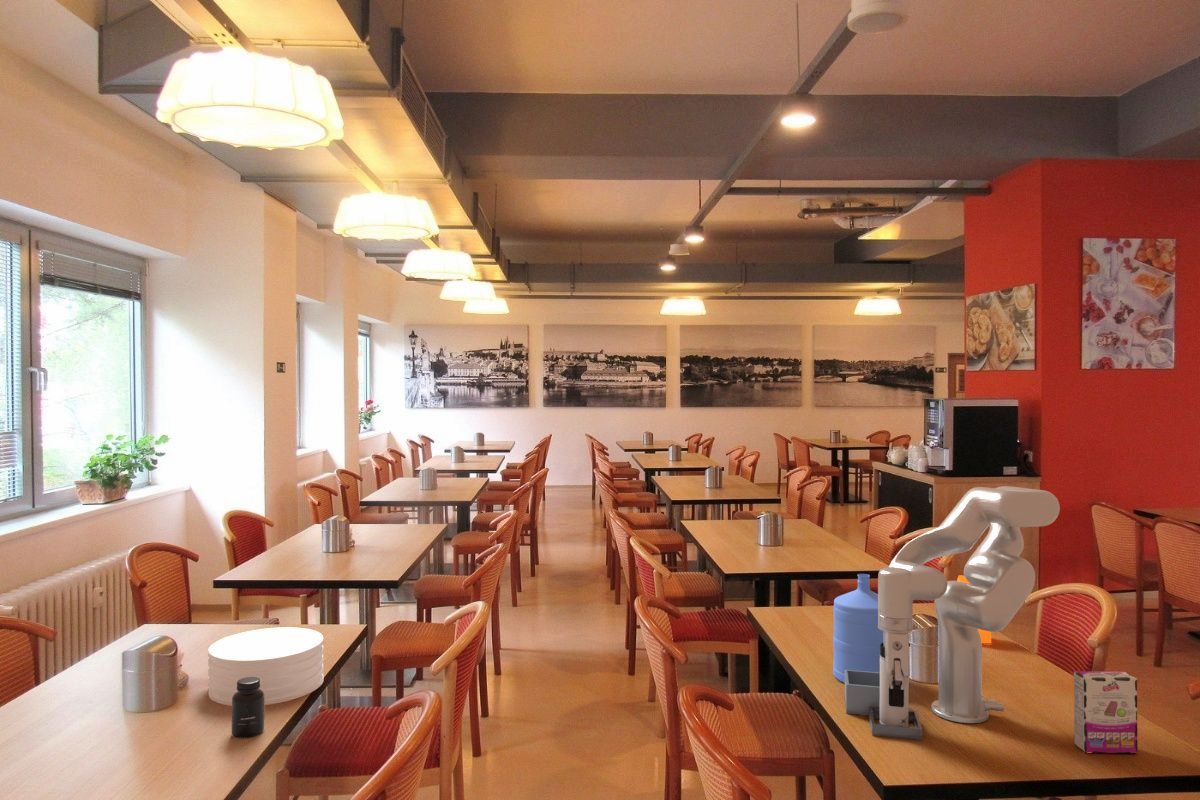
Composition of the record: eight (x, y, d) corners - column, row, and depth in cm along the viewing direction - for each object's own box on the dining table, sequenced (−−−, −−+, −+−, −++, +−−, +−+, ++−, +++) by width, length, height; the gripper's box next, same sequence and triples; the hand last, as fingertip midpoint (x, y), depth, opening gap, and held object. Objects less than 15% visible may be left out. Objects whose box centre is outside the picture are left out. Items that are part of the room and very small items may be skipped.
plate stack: (203, 713, 196) (203, 666, 196) (212, 675, 222) (212, 633, 222) (326, 697, 206) (326, 652, 206) (321, 662, 232) (321, 622, 232)
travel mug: (912, 735, 183) (912, 646, 183) (881, 732, 185) (881, 645, 184) (907, 724, 189) (907, 638, 189) (877, 721, 191) (878, 636, 190)
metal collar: (916, 721, 191) (916, 711, 191) (922, 740, 181) (922, 729, 181) (868, 717, 193) (868, 706, 193) (872, 735, 183) (872, 724, 183)
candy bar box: (1124, 745, 178) (1125, 670, 178) (1138, 755, 173) (1139, 678, 173) (1072, 743, 179) (1072, 669, 179) (1084, 754, 174) (1085, 677, 174)
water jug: (874, 693, 208) (875, 584, 208) (821, 677, 220) (821, 574, 220) (905, 679, 219) (905, 575, 218) (853, 664, 230) (853, 566, 230)
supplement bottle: (243, 741, 180) (243, 687, 180) (225, 734, 183) (224, 681, 183) (270, 730, 186) (270, 678, 185) (252, 724, 189) (252, 672, 189)
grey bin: (889, 701, 203) (889, 673, 203) (893, 718, 193) (894, 688, 193) (844, 697, 206) (844, 669, 206) (846, 713, 196) (846, 684, 195)
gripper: (917, 634, 177) (916, 716, 178) (908, 613, 194) (907, 688, 194) (881, 632, 179) (880, 713, 180) (875, 611, 196) (874, 685, 196)
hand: (894, 699), depth 187 cm, fingers closed on travel mug, 6 cm apart
